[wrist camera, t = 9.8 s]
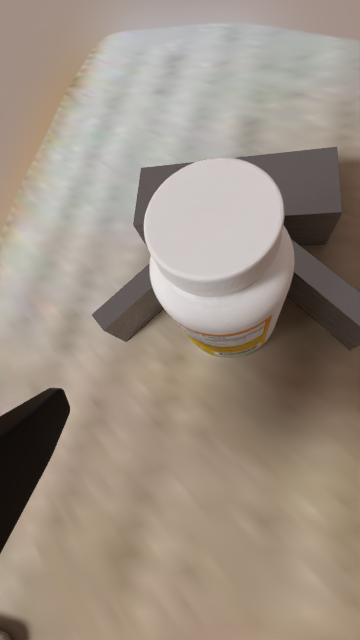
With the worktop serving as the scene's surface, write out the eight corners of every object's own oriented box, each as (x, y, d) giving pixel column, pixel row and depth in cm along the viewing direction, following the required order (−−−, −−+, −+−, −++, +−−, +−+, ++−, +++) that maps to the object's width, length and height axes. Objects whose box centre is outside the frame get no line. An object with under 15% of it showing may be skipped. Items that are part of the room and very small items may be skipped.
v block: (368, 351, 15) (397, 338, 12) (113, 341, 18) (89, 330, 15) (352, 184, 18) (373, 143, 15) (133, 202, 21) (115, 170, 18)
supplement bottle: (219, 257, 18) (193, 112, 9) (295, 303, 16) (357, 179, 7) (167, 324, 18) (84, 242, 9) (239, 379, 16) (231, 347, 7)
